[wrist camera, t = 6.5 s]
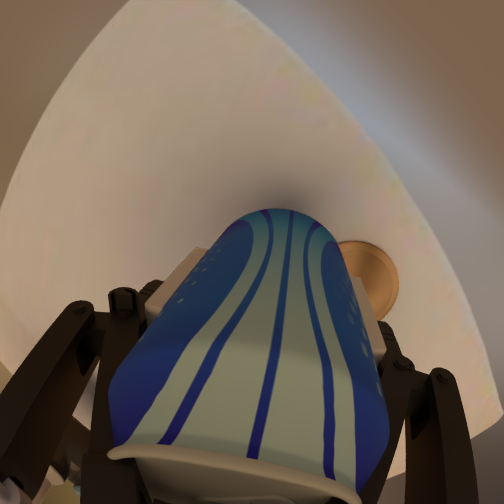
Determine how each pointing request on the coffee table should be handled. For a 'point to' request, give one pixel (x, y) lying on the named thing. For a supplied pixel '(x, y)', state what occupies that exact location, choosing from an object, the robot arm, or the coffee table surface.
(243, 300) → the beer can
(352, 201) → the coffee table surface
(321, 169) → the coffee table surface
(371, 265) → the orange shallow plate
